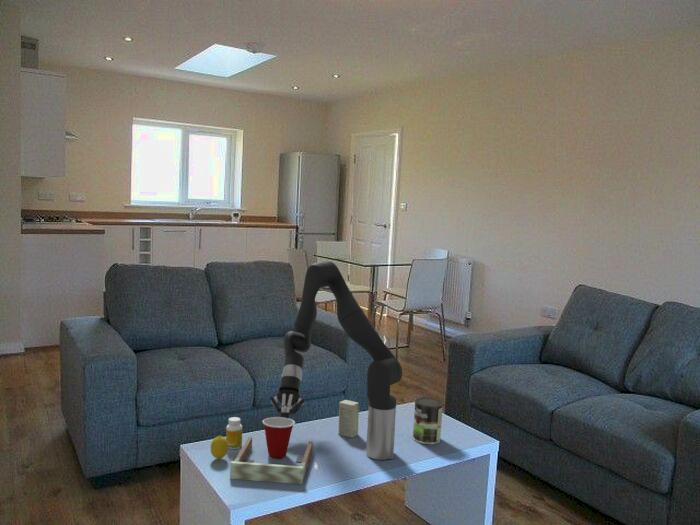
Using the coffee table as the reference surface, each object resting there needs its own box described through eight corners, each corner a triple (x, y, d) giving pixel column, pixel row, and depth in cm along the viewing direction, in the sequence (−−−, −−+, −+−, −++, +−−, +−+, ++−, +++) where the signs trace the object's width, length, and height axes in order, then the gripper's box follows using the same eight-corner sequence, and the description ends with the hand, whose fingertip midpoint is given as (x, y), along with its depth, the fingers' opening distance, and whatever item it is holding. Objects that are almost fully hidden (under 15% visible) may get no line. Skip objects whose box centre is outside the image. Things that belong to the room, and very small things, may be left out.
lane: (312, 451, 206) (312, 437, 205) (301, 484, 182) (302, 468, 181) (248, 446, 207) (248, 432, 206) (229, 478, 183) (230, 462, 182)
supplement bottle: (238, 450, 204) (239, 422, 203) (223, 448, 205) (224, 420, 204) (244, 444, 209) (245, 417, 208) (229, 442, 210) (230, 415, 209)
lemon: (212, 464, 192) (213, 440, 191) (208, 457, 197) (209, 433, 196) (229, 461, 195) (230, 437, 194) (225, 454, 200) (225, 431, 199)
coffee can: (426, 446, 214) (428, 408, 213) (406, 437, 223) (409, 399, 221) (446, 441, 221) (449, 403, 219) (427, 431, 229) (429, 395, 227)
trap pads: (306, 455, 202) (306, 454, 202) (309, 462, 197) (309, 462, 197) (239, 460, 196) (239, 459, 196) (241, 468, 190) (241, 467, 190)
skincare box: (358, 434, 222) (360, 402, 221) (352, 438, 219) (353, 405, 218) (343, 430, 226) (345, 398, 225) (337, 434, 222) (338, 401, 221)
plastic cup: (298, 451, 205) (299, 417, 204) (287, 464, 195) (289, 428, 194) (267, 446, 208) (269, 413, 207) (256, 459, 197) (257, 424, 196)
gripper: (272, 373, 220) (263, 418, 209) (308, 376, 219) (301, 421, 208) (274, 383, 225) (266, 427, 215) (309, 386, 225) (303, 430, 214)
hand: (283, 424), depth 211 cm, fingers closed
